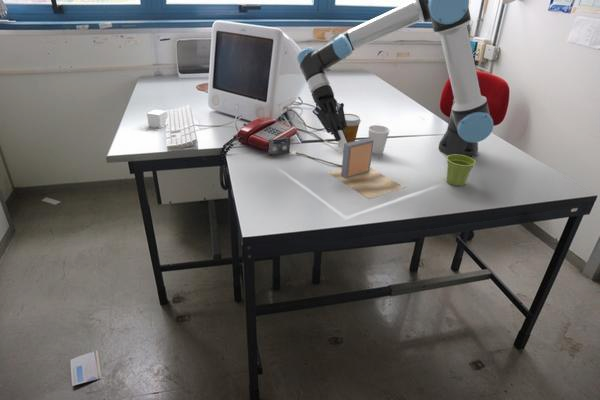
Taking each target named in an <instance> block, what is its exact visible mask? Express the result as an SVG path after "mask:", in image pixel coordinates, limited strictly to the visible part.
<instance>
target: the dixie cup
mask: <svg viewBox="0 0 600 400" xmlns="http://www.w3.org/2000/svg"><path fill="white" fill-rule="evenodd" d="M367 130H368V138H370V139H372V140H374V141H373V149H372V154H374V155H375V154H376V155H377V154H380V155H383V154H384V151H385V148H386V144H387V140H388V136H389V133H390V131H391V129H390V128H389V127H388V126H384V125H380V124H379V125H378V124H373V125H370V126H368V127H367Z"/></svg>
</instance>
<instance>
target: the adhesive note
mask: <svg viewBox="0 0 600 400" xmlns="http://www.w3.org/2000/svg"><path fill="white" fill-rule="evenodd" d="M146 117H147V124H148V127H149V126H152V127H151V128H156V127H159V128H158V129H162V128H164V127H165V122H166V119H167V118H168V119H169V117H168V111H167V110H161V109H153V110H151V111H149V112H146ZM161 127H162V128H161Z"/></svg>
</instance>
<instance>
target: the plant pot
mask: <svg viewBox="0 0 600 400" xmlns="http://www.w3.org/2000/svg"><path fill="white" fill-rule="evenodd" d="M446 161H447V169H446V170H447V171H446V172H447V173H446V181H447V183H448V184H449V185H452V186H454V187H455V186H460V187H462V186H464V185H465V184H466V181H467V179H468V177H469V175H470V172H471V170H472V168H473V167H474V166H475V164H476V162H477V161H476V160H475V159H474V158H473V157H468V156H465V155H459V154H453V155H447V156H446Z"/></svg>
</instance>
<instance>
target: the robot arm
mask: <svg viewBox="0 0 600 400" xmlns="http://www.w3.org/2000/svg"><path fill="white" fill-rule="evenodd" d="M469 7H470V0H410V1H409V2H406V3H404V4H402V5H400V6H397V7H395V8H393V9H391V10H388V11H387V12H385V13H383V14H380V15H377V16H376V17H374V18H371V19H370V20H367V21H364V22H363V23H360V24H358V25H356V26H354V27H352V28H350V29H348V30H345V31H343V32H341V33H337V34H334V35H333V36H332V37H331V38H330V40H329V41H328V42H327V43H325V44H324V45H322V46H321V47H319V48H317V49H316V48H315V47H307V48H304V49H302V50H300V52H298V55H297V62H298V65H299V69H300V71H301V72H302V75H303V77H304V80H305V81H306V84H307V87H308V89H309V92H310V93H311V96H312V99H313V102H314V103H315V106H316V107H315V108H314V109H313V110H312V113H313V114H314V115H315V116H316V117H317V119H318V120H319V122H320V123H321V125H322V126H323V128H324V130H325V131H326V132H327V133H328V134H330V135H331V136H332V135H333V137H334V139H335V141H336V142H337V143H338V146H339V148H340V150H341V151H344V144H345V143H347V141H346V135H345V133H344V129H345V128H346V127H347V125H346V120H345V115H344V114H345V112H344V111H345V110H344V106H345V104H344V103H343V102H341V103H340V102H338V100H337V99H335V94H334V90H333V88H332V86H331V84H330V81H329V79H328V77H327V75H326V71H325V70H327V69H329V68H331V67H332V66H335V65H336V64H337V63H339V62H341V61H342V60H345V59H346V58H347V57H349V56H351V55H352V54H353V51H355V50H357V49H360V48H362V47H364V46H366V45H369V44H371V43H373V42H375V41H378V40H380V39H382V38H385V37H387V36H389V35H391V34H392V35H393V34H394V33H396V32H398V31H401V30H403V29H406V28H408V27H410V26H413V25H415V24H417V23H419V22H422V23H427V22H428V21H431V25H432V30H433V33H434V34H435V35H438V36H439V37H440V42H441V47H442V50H443V55H444V59H445V64H446V68H447V73H448V76H449V82H450V85H451V90H452V96H453V100H452V106H451V111H450V115H449V119H448V123H447V129H446V131H445V133H444V134H443V136H442V137H441V140H440V141H439V144H438V150H439V152H441V153H443V154H445V155H447V156H449V155H453V154H459V155H465V156H468V157H471V158H474V157H476V156H477V154H478V151H479V142H481V141H482V142H483V141H484V140H485V139H487V138H488V137H489V136H490V135H491V134H492V132H493V129H494V119H493V118H492V116H491V115H490V109H489V104H488V100H487V97H486V96H484V95H482V94H481V88H480V84H479V79H478V74H477V68H476V64H475V60H474V55H473V54H474V53H473V48H472V44H471V39H470V34H469V31H468V30H469V29H468V26H469V24H470V22H471V20H472V18H471V13H470V8H469Z"/></svg>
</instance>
